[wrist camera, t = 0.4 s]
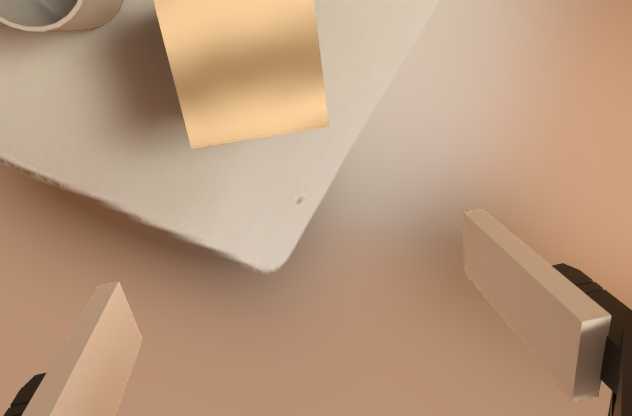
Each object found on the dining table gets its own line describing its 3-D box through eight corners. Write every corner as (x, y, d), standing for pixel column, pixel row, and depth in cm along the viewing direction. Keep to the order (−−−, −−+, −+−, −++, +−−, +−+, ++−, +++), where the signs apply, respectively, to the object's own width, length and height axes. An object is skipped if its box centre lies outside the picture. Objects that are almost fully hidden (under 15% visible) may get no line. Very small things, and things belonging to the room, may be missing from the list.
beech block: (170, -1, 30) (151, -6, 24) (300, -19, 30) (310, -28, 25) (201, 128, 33) (191, 148, 28) (316, 109, 34) (328, 126, 29)
